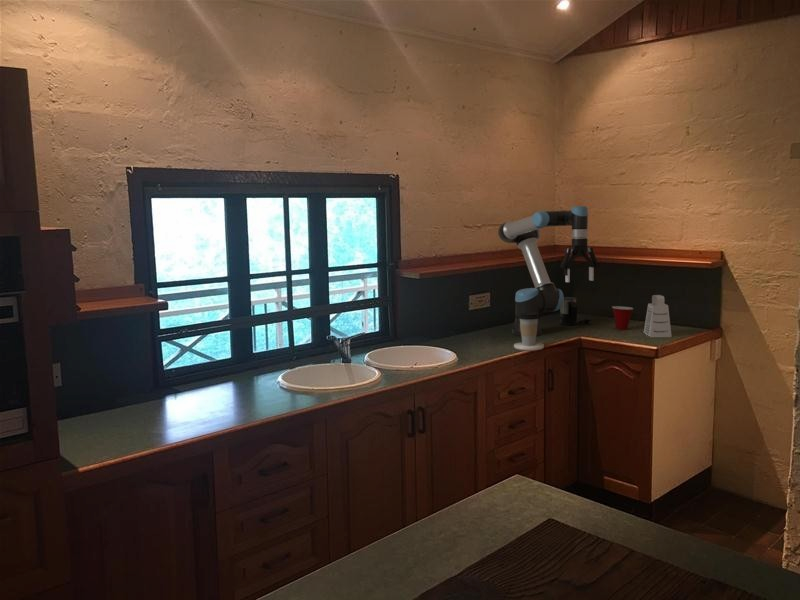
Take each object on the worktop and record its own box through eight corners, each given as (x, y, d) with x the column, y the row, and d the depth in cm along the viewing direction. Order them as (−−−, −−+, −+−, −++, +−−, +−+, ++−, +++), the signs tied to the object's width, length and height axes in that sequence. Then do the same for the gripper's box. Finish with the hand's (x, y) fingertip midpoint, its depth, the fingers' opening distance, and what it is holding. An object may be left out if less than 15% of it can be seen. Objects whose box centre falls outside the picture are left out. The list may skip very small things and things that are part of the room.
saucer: (508, 348, 325) (508, 345, 324) (523, 343, 335) (523, 340, 335) (534, 351, 316) (534, 349, 315) (549, 346, 326) (549, 343, 326)
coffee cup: (524, 342, 332) (524, 311, 330) (542, 344, 326) (542, 313, 324) (515, 345, 325) (515, 314, 323) (532, 347, 319) (533, 315, 317)
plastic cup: (637, 329, 363) (637, 307, 361) (621, 331, 359) (621, 308, 357) (623, 326, 373) (623, 304, 371) (607, 328, 369) (607, 306, 367)
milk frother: (556, 323, 387) (556, 297, 385) (577, 320, 394) (577, 295, 392) (573, 327, 375) (573, 300, 373) (595, 324, 382) (595, 297, 380)
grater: (650, 337, 342) (651, 297, 339) (643, 333, 352) (644, 294, 350) (671, 336, 342) (672, 297, 339) (664, 332, 352) (665, 294, 349)
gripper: (561, 239, 328) (561, 283, 330) (605, 237, 336) (605, 280, 338) (553, 238, 335) (553, 282, 337) (596, 236, 343) (596, 279, 345)
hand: (579, 281), depth 338 cm, fingers open, 13 cm apart
